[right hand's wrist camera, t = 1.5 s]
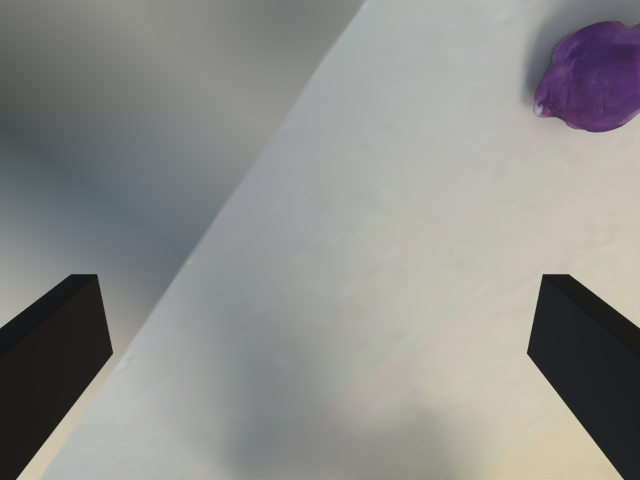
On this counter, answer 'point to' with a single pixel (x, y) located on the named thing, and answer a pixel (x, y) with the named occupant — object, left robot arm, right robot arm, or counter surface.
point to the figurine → (593, 78)
